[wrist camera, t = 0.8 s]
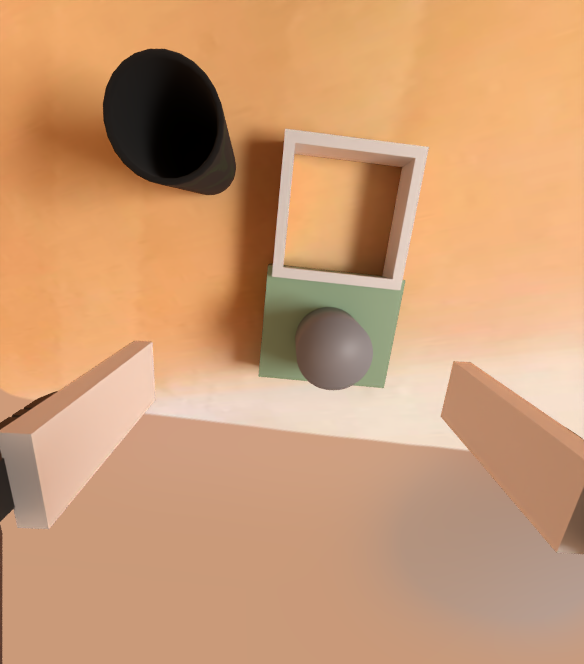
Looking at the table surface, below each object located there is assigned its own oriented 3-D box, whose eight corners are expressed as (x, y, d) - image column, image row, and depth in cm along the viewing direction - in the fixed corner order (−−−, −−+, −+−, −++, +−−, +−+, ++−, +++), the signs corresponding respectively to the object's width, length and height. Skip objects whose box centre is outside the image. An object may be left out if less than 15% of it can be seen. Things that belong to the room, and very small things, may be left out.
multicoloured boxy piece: (280, 140, 31) (278, 106, 24) (418, 158, 32) (460, 130, 24) (260, 366, 38) (253, 397, 30) (376, 377, 38) (399, 410, 30)
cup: (184, 214, 33) (128, 197, 21) (158, 133, 31) (81, 67, 19) (255, 195, 33) (238, 167, 21) (233, 112, 31) (201, 31, 19)
